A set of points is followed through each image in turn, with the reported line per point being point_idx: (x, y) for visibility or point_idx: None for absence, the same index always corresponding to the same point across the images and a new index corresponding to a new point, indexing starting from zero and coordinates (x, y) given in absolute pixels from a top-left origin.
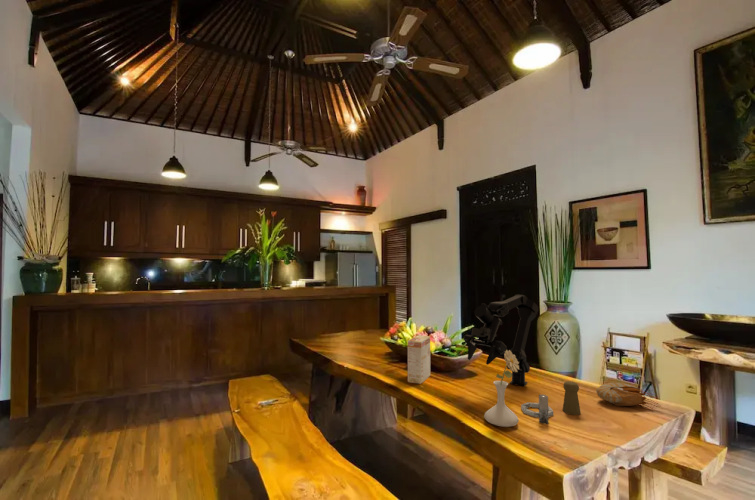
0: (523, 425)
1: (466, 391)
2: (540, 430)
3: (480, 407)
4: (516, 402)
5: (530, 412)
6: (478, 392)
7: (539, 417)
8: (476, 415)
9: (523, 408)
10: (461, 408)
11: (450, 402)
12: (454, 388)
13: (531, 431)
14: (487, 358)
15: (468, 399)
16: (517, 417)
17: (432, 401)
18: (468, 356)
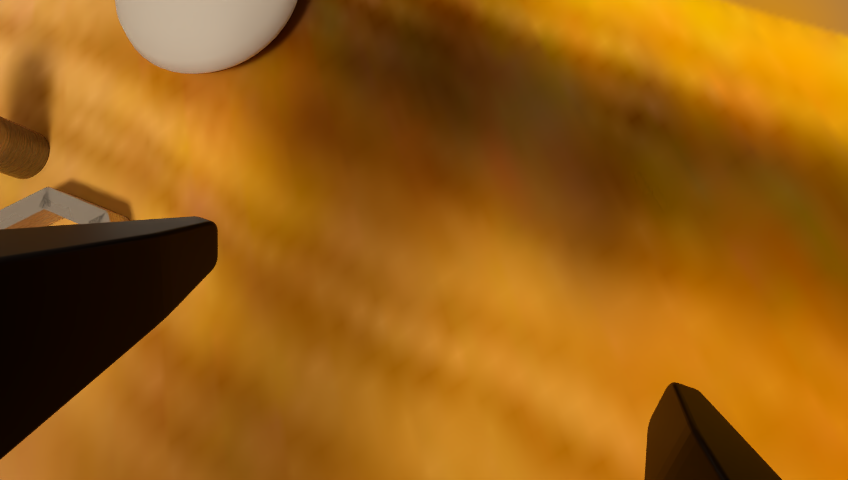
0: (120, 47)
1: (623, 436)
2: (45, 43)
3: (390, 143)
4: (186, 399)
5: (74, 197)
6: (513, 473)
7: (22, 130)
8: (373, 7)
9: (108, 220)
10: (497, 46)
11: (617, 97)
12: (771, 460)
13: (83, 5)
14: (119, 238)
15: (523, 242)
16: (116, 8)
17: (750, 29)
18: (711, 419)
